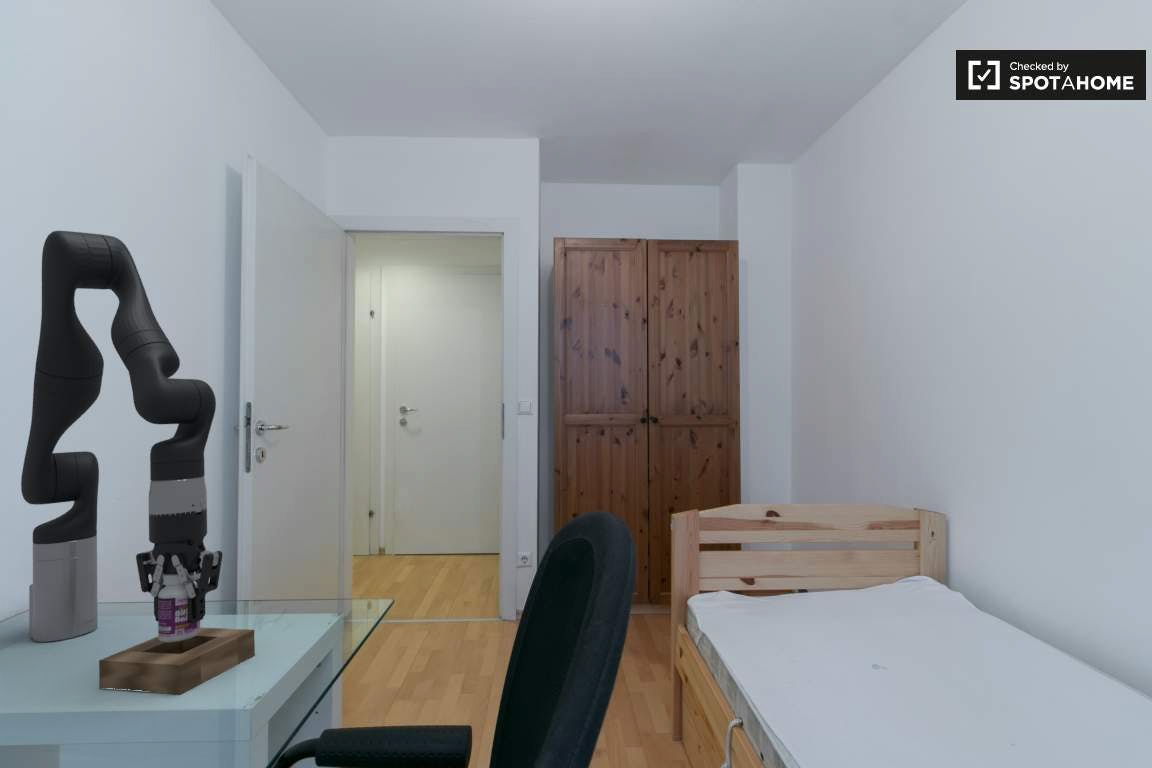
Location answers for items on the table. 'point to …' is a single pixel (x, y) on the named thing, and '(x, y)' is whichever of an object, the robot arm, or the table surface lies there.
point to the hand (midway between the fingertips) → (179, 620)
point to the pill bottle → (174, 611)
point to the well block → (176, 661)
